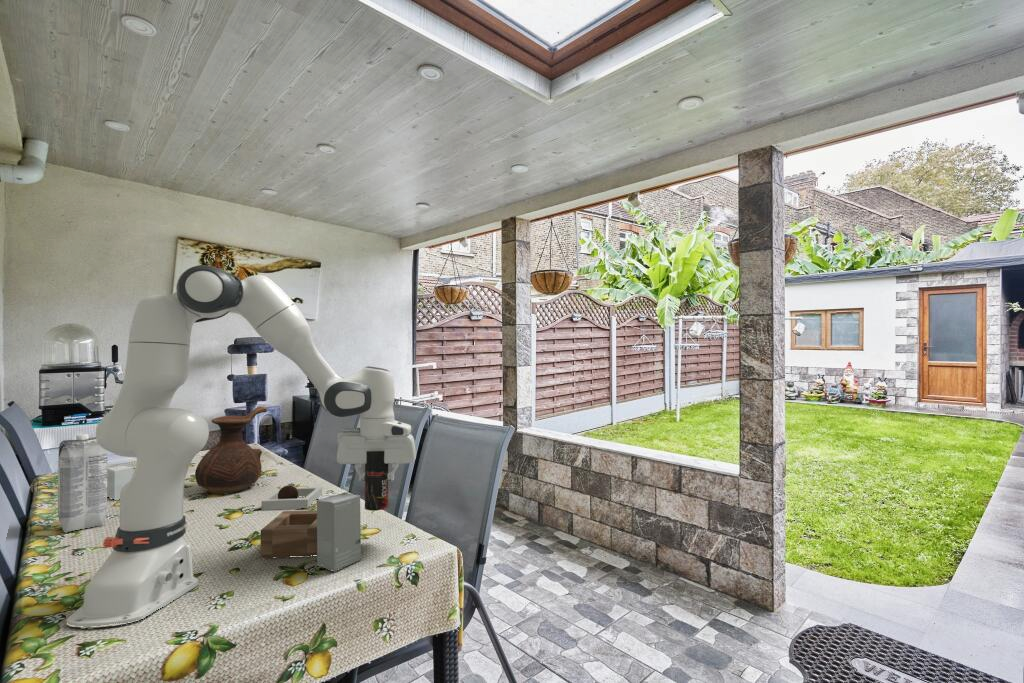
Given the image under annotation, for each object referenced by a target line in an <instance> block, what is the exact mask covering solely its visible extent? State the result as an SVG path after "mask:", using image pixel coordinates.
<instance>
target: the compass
mask: <svg viewBox="0 0 1024 683" xmlns="http://www.w3.org/2000/svg"><path fill="white" fill-rule="evenodd" d="M280 488H281V489H280ZM280 488H279V489H280V491H279V493H278V499H297V498H299V497H298V490H297V489H296V488H297V487H296V486H293V485H291V484H287V485H284V486H283V487H280Z"/></svg>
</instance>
